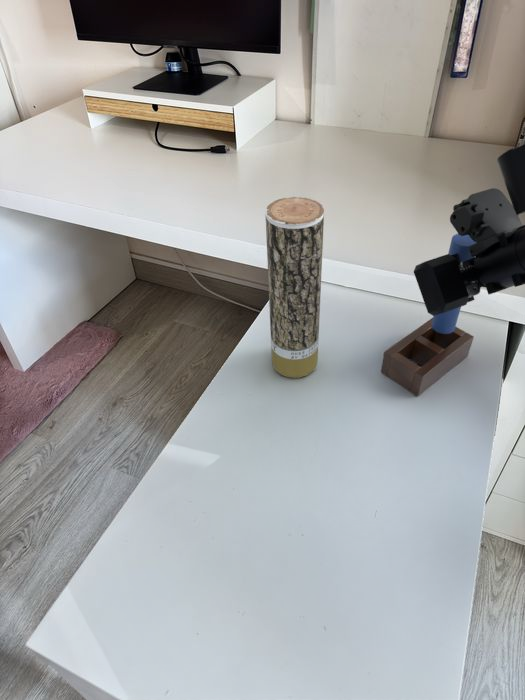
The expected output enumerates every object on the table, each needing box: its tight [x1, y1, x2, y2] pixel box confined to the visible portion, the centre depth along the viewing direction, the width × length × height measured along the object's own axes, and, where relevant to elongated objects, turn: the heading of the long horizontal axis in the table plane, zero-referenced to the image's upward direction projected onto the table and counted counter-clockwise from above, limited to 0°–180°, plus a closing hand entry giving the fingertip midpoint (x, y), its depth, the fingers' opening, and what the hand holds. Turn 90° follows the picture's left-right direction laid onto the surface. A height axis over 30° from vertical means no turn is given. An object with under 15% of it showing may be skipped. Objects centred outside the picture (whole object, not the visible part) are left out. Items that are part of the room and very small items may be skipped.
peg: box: [431, 233, 476, 334], centre depth 67 cm, size 3×3×14 cm
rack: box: [380, 317, 475, 397], centre depth 73 cm, size 7×12×4 cm, turn 130°
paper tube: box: [265, 196, 325, 379], centre depth 67 cm, size 7×7×25 cm
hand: (446, 283), depth 68 cm, fingers closed on peg, 3 cm apart
